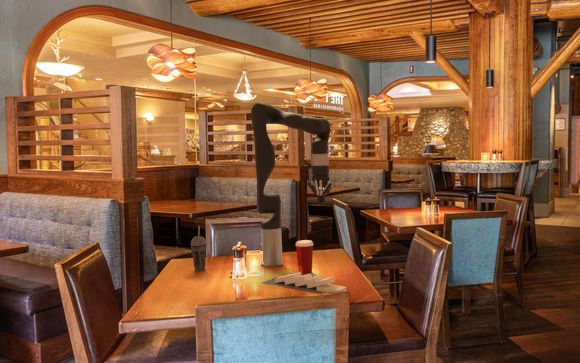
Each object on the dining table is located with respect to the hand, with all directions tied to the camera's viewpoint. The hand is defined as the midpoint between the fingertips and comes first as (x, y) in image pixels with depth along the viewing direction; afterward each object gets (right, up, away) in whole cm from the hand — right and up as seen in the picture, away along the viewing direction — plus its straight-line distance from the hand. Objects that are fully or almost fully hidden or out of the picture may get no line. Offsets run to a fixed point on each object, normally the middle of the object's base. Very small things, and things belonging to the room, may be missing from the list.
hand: (321, 203), depth 224 cm
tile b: (-14, -30, -21) cm, 39 cm away
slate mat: (-11, -31, -24) cm, 41 cm away
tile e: (-2, -30, -31) cm, 43 cm away
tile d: (-6, -30, -28) cm, 41 cm away
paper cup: (-7, -30, -5) cm, 31 cm away
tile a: (-18, -30, -18) cm, 39 cm away
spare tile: (-10, -30, -24) cm, 40 cm away
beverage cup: (-55, -31, +8) cm, 63 cm away
